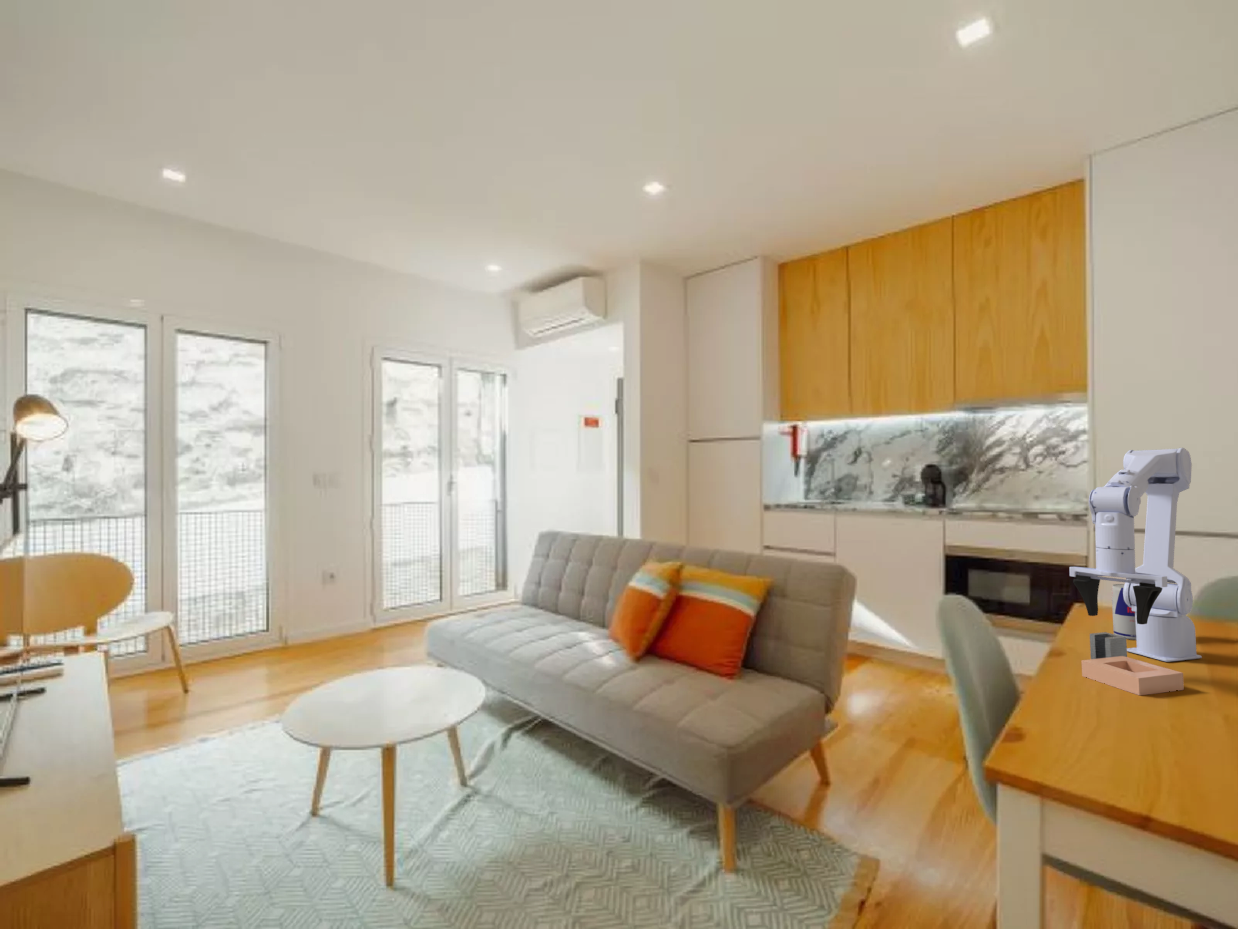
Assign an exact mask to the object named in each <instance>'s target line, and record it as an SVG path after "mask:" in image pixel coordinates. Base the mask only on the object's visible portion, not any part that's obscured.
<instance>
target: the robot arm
mask: <svg viewBox="0 0 1238 929" xmlns="http://www.w3.org/2000/svg"><path fill="white" fill-rule="evenodd" d="M1122 465H1123V469H1120V470H1119V471H1117V472H1116V473H1115V474H1113V476H1112V477H1111V478H1110V479H1109V480H1108V481H1107V482H1106V484H1105V485H1104V486H1097V487H1096V488H1095V489H1091V491H1090V493H1089V497H1088V507H1089V510H1090V515H1091V521H1092V524H1094V531H1095V532H1094V533H1095V536H1094V537H1095V568H1093V567H1085V566H1069V577H1074V579H1072V581H1073V584H1074V586H1075V587H1076V589H1077V590H1078V592H1079V593H1080V596H1081V598H1082V600H1083V602H1084V605H1085V609H1086V611H1087V616H1090V617H1095V616H1098V614H1099V603H1098V601H1099V600H1098V597H1099V587H1100V583H1101V580H1103V581H1111V582H1118V583H1123V584H1124V588H1123V597H1124V601H1125V603H1126V604H1127V605H1128V606H1129V607H1131V608H1132V611H1135V621H1136V640H1135V641H1136V647H1129V648H1128V647H1127V652H1128V653H1133V654H1137V655H1139V656H1144V657H1148V658H1151V659H1156V660H1158V661H1162V662H1166V663H1169V662H1179V661H1185V660H1186V661H1188V660H1197V659H1202V658H1203V657H1202V655H1200V654H1197V641H1196V638H1197V637H1196V627H1195V624H1194V622H1193V620H1192V619H1191V618H1190V617H1189V616H1187V615H1188V614H1189V613H1191V611H1192V609H1193V603H1194V600H1193V599H1194V598H1193V593H1192V592H1193V591H1192V581H1190V578H1188V577H1187V576H1186V575H1184V574H1183V573H1182V572H1180V571H1178V570H1177V569H1175V568H1174V562H1175V560H1174V559H1175V548H1176V547H1175V544H1176V528H1177V527H1176V526H1177V512H1178V510H1177V509H1178V500H1179V498H1180V497H1179V496H1180V494H1181V492H1184V491H1187V490H1189V489H1190V484H1191V482H1192V471H1193V470H1192V468H1193V467H1192V466H1193V464H1192V457H1191V455H1190V452H1189V451H1188V450H1187V449H1186V448H1185V447H1179V448H1161V449H1143V450H1139V449H1137V450H1134V449H1129V450H1128V451H1126V453H1125V454H1124V456H1123V460H1122ZM1144 494H1146V496H1147V500H1146V502H1147V503H1146V517H1145V529H1144V530H1145V531H1144V542H1143V543H1144V544H1143V559H1142V564H1140V565H1139V566H1137V567H1136V548H1135V547H1136V543H1135V541H1136V539H1135V517H1136V516H1138V513H1139V511H1140V505H1141V502H1142V499H1141V498H1142V497H1143V495H1144ZM1123 578H1125V579H1123Z"/></svg>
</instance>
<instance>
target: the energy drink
mask: <svg viewBox="0 0 1238 929" xmlns="http://www.w3.org/2000/svg"><path fill="white" fill-rule="evenodd" d="M1124 584H1125V583H1115V584H1114V583H1113V584H1112V587H1111V605H1112V606H1111V608H1112V624H1113V626H1112V627H1113V629H1112V630H1113V634H1115V635H1119V636H1123V637H1126V640H1130V641H1136V621H1135V611H1132V608H1131V607H1129V606H1128V605H1127V604H1126V603H1125V601H1124V597H1123V588H1124Z"/></svg>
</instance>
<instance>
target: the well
mask: <svg viewBox="0 0 1238 929" xmlns="http://www.w3.org/2000/svg"><path fill="white" fill-rule="evenodd" d="M1081 676H1082V677H1083V678H1086V677H1087V679H1090V680H1092V681H1095V680H1096V682H1099V683H1101V684H1104V683H1105V684H1104V685H1108V686H1110V687H1112V688H1117V689H1119V690H1123V691H1125V692H1127V693H1131V694H1134V695H1136V696H1145V695H1154V694H1162V693H1170V692H1177V691H1176V690H1178V691H1183V690H1185V689H1184V688H1185V687H1184V686H1185V685H1184V673H1183V672H1181V671H1177V670H1174V669H1170V668H1168V667H1164V666H1159V665H1156V664H1153V663H1149V662H1146V661H1142V660H1140V659H1139V660H1138V659H1134V658H1132V657H1128V656H1127V657H1125V656H1118V657H1109V658H1099V659H1091V658H1090V659H1083V660H1082V659H1081ZM1169 691H1170V692H1169Z"/></svg>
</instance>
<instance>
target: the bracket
mask: <svg viewBox="0 0 1238 929" xmlns="http://www.w3.org/2000/svg"><path fill="white" fill-rule="evenodd" d="M1089 647H1090V649H1089V650H1090V659H1099V658H1109V657H1118V656H1125V657H1128V651H1127V648H1128V647H1127V639H1126V637H1123V636H1119V635H1115V634H1114V633H1110V632H1107V631H1104V632H1094V633H1091V632H1090V633H1089Z"/></svg>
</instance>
